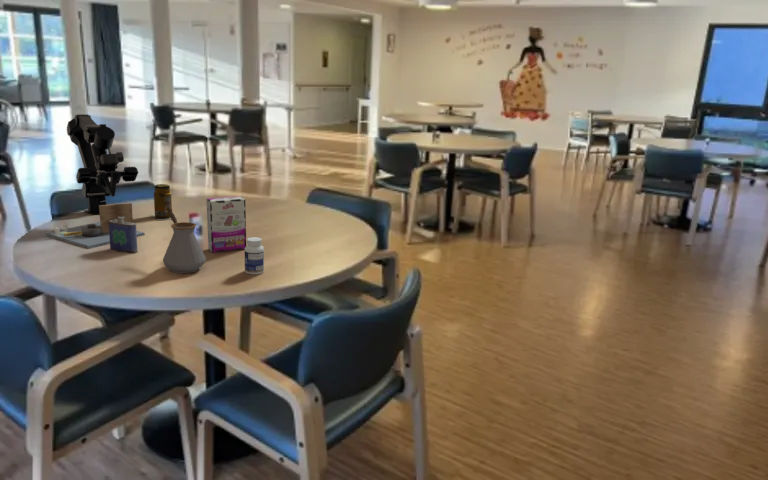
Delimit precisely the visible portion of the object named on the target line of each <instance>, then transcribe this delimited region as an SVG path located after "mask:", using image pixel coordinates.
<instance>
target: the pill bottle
mask: <svg viewBox="0 0 768 480" xmlns="http://www.w3.org/2000/svg"><path fill="white" fill-rule="evenodd" d="M262 240H263V239H262V238H260V237H255V236H254V237H248V238H246V247H245V249H244V272H245V273H246V274H248V275H261V274H263V273H264V271H265V247H264V246H263V245H262V243H263V241H262Z"/></svg>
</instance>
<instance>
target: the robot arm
mask: <svg viewBox="0 0 768 480" xmlns="http://www.w3.org/2000/svg"><path fill="white" fill-rule="evenodd" d="M66 133H67V134H66V135H67V136H69V138H70V141H71V142H72V143H73V144H74V145H76V146H77V148H78V151H79V155H80V159H81V162H82V166H83V167H79V168H78V169H77V172H76V175H75V177H76V178H75V179H76V182H77V184H82V187H81V195H82V197H84V198H86V199H87V200H86V201H87V209H86V210H84V213H87V214H91V215H100V212H99V205H107V200H106V198H107V197H110V196H111V197H115V196H116V191H117V190H116V188H117V185H119V183H120V182H121V181H120V180H123V182H129V183H130V182H135V181H136V179H137V177H138V174H139V171H138V168H137V167H136V166H124V167H123V170H117V169H118V167H119V166H118V164H120V163H123V162H124V160H125V158H124V157H125V156H124V154H123V152H122V151H121V152H120V151H117V152H116V153H112V152H111V148H112V147H113V143H114V139H115V135H116V133H115V131H114V130H113V129H112V128H111V127H109V126H107V124H106V123H100V124H97V123H96V122H95V121H94V119H92V116H91V115H90V114H75V115H74V117H73V118H72V119H71V120H69V121H68V122H67V125H66ZM109 179H110V180H109Z"/></svg>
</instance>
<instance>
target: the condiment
mask: <svg viewBox="0 0 768 480" xmlns="http://www.w3.org/2000/svg"><path fill="white" fill-rule="evenodd" d="M153 202H154V203H153V205H154V207H153V208H154V214H151V215H150V217H152V218H153V219H155V220H157V221H168V220H169V219H170V220H172V219H171V217H170V213H169V212H166V211H168V209H167V208H166V207H167V206H169V207H173V205H172V202H173V201H172V193H171V185H170V184H167V183H165V184H162V183H159V184H155V185H154V192H153ZM165 208H166V209H165ZM164 209H165V210H164ZM171 210H172V211H173V208H171ZM175 218H176V220H178V217H176V216H175Z"/></svg>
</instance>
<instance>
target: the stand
mask: <svg viewBox="0 0 768 480" xmlns="http://www.w3.org/2000/svg"><path fill="white" fill-rule="evenodd" d="M88 224H89V223H88ZM88 224H87V223H86V224H82V225H77V226H73V227H69V224H68V223H65V222H64V223H62V229H60V228H59V227H54V229H53V230H52V231H48V232H45V237H46V236H47V237H50V238H53V239H57V240H60V241H63V242H66V243H70V244H74V245H77V246H79V247H83V248H87V249H93V248H97V247H101V246H106V245H110V234H109V232H108V233H102V234H101V235H98V236H83V235H82V234H80V235H71V236H64V233H68V232H78V231H81V227H83V226H86V225H88ZM90 224H96V225H100V221H98V222H92V223H90ZM100 226H101V225H100ZM136 235H137V238H138V236H139V237H142V235H143V236H145V232H143V231H140V230H136Z"/></svg>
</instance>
